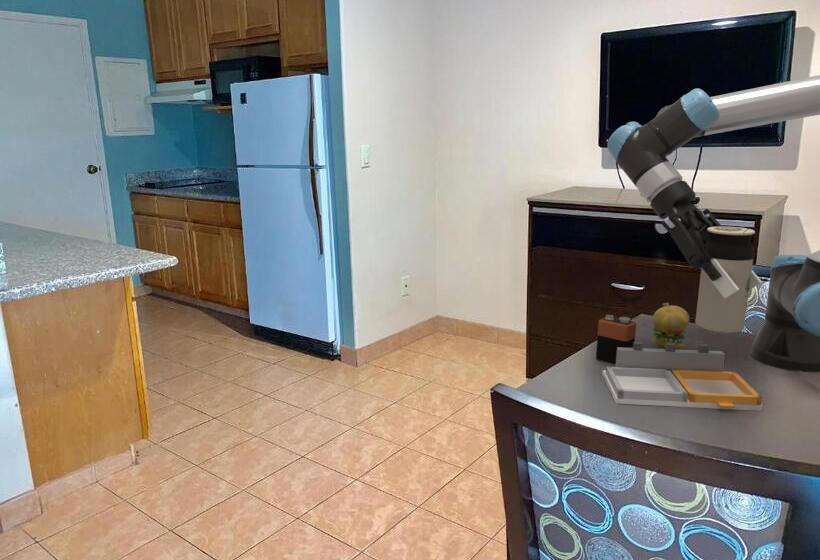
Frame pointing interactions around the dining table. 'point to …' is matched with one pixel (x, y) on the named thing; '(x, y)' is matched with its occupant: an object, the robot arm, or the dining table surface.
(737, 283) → the travel mug
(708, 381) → the grey orange flat box
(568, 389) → the dining table surface
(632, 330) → the battery
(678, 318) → the hamburger
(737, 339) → the dining table surface
